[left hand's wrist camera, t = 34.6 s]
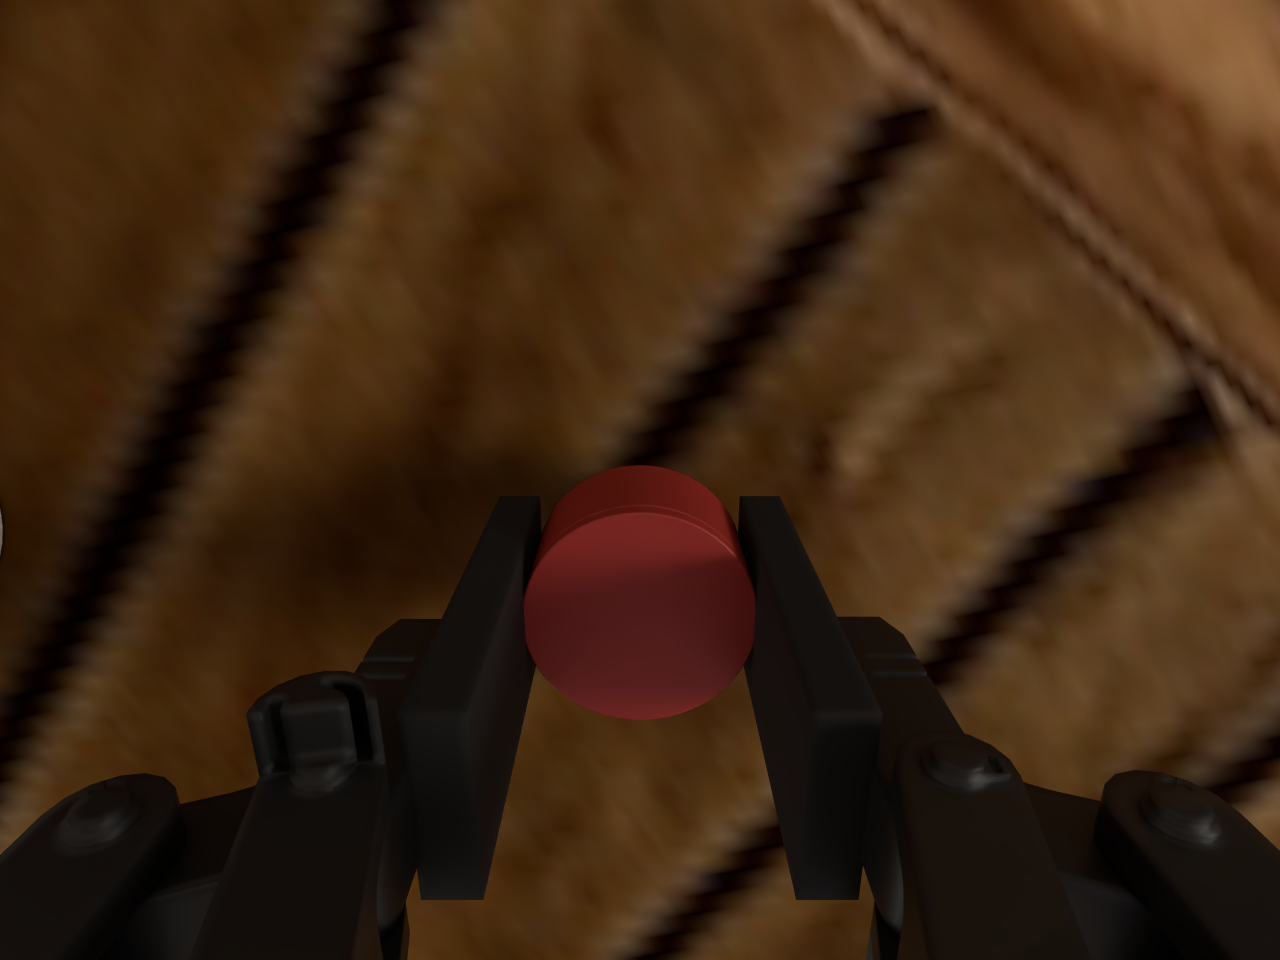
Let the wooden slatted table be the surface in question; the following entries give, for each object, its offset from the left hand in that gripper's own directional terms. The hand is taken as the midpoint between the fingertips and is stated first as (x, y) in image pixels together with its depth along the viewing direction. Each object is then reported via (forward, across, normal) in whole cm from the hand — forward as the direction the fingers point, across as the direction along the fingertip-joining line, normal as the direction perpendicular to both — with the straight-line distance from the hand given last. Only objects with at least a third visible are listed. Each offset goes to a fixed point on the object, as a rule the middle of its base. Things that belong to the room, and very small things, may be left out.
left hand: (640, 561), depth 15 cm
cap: (-2, 0, 0) cm, 2 cm away
